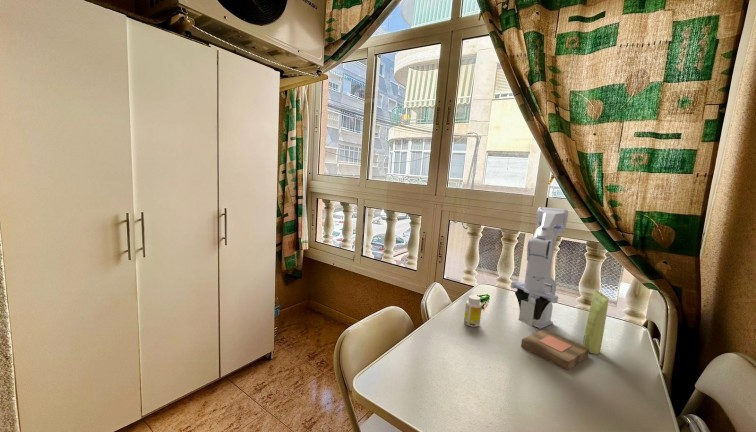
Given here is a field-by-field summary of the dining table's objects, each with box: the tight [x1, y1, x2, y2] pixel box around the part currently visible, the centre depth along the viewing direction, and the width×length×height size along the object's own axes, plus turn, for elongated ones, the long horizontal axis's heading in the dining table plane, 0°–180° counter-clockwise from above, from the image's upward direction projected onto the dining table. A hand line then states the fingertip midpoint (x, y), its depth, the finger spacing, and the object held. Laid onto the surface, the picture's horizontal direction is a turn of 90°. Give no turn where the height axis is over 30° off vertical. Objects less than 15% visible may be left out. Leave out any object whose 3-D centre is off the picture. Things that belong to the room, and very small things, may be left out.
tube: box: [581, 288, 610, 355], centre depth 100 cm, size 6×5×20 cm
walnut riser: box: [520, 328, 590, 371], centre depth 99 cm, size 14×14×3 cm
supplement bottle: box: [463, 294, 483, 328], centre depth 113 cm, size 6×6×10 cm
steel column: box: [518, 297, 540, 327], centre depth 102 cm, size 4×4×7 cm
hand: (529, 315), depth 102 cm, fingers closed on steel column, 4 cm apart
